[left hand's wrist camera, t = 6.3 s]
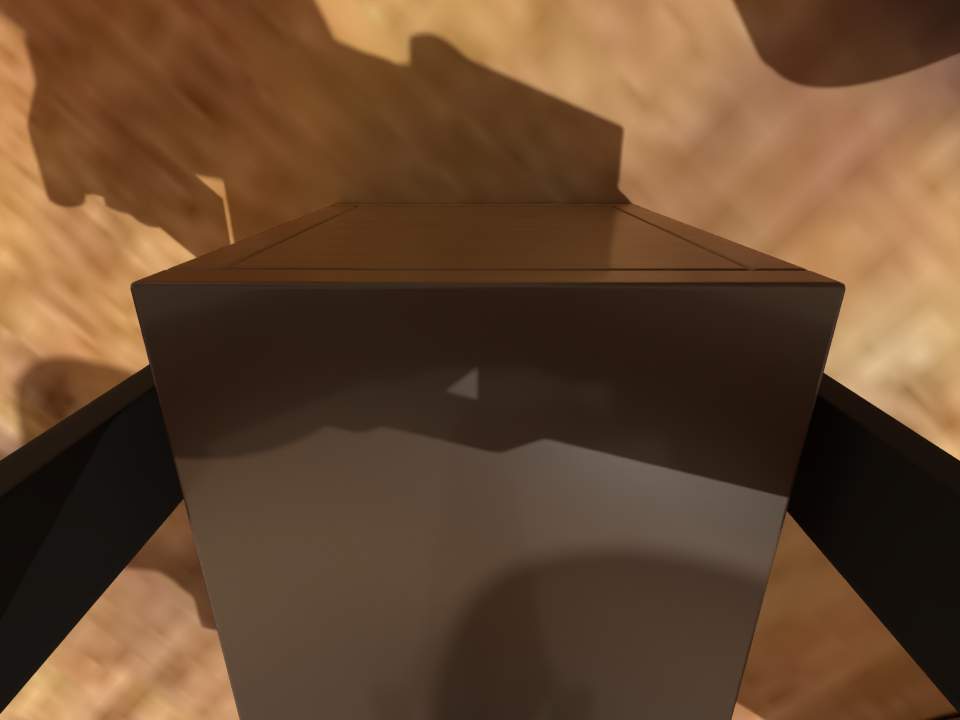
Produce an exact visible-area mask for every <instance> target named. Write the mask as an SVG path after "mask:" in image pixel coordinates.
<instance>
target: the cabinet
mask: <svg viewBox="0 0 960 720" xmlns="http://www.w3.org/2000/svg"><path fill="white" fill-rule="evenodd" d="M131 292H132V296H133V300H134V304H135V308H136V312H137V316H138V320H139V324H140V328H141V332H142V336H143V340H144V344H145V348H146V352H147V355H148V359H149V363H150V367H151V371H152V375H153V379H154V383H155V387H156V391H157V395H158V399H159V403H160V407H161V411H162V415H163V419H164V423H165V426H166V430H167V434H168V438H169V442H170V446H171V450H172V454H173V458H174V462H175V466H176V470H177V474H178V478H179V482H180V486H181V490H182V493H183V497H184V501H185V505H186V509H187V513H188V517H189V521H190V525H191V529H192V533H193V537H194V541H195V545H196V549H197V553H198V557H199V561H200V564H201V568H202V572H203V576H204V580H205V584H206V588H207V592H208V596H209V600H210V604H211V608H212V612H213V616H214V620H215V624H216V628H217V631H218V635H219V639H220V643H221V647H222V651H223V655H224V659H225V663H226V667H227V671H228V675H229V679H230V683H231V687H232V691H233V695H234V699H235V702H236V706H237V710H238V714H239V718H240V720H731V719H732V715H733V711H734V707H735V704H736V700H737V696H738V692H739V689H740V685H741V681H742V677H743V673H744V670H745V666H746V662H747V658H748V655H749V651H750V647H751V643H752V640H753V636H754V632H755V628H756V624H757V621H758V617H759V613H760V609H761V606H762V602H763V598H764V594H765V591H766V587H767V583H768V579H769V575H770V572H771V568H772V564H773V560H774V557H775V553H776V549H777V545H778V542H779V538H780V534H781V530H782V526H783V523H784V519H785V515H786V511H787V508H788V504H789V500H790V496H791V493H792V489H793V485H794V481H795V477H796V474H797V470H798V466H799V462H800V459H801V455H802V451H803V447H804V444H805V440H806V436H807V432H808V428H809V425H810V421H811V417H812V413H813V410H814V406H815V402H816V398H817V395H818V391H819V387H820V383H821V379H822V376H823V372H824V368H825V364H826V361H827V357H828V353H829V349H830V345H831V342H832V338H833V334H834V330H835V327H836V323H837V319H838V315H839V312H840V308H841V304H842V300H843V296H844V293H845V285H844V284H843V283H841V282H838V281H836V280H833V279H830V278H828V277H825V276H822V275H820V274H817V273H814V272H812V271H808V270H806V269H804V268H801V267H799V266H796V265H793V264H791V263H788V262H785V261H783V260H780V259H777V258H775V257H772V256H769V255H767V254H764V253H761V252H759V251H756V250H753V249H751V248H748V247H746V246H743V245H740V244H738V243H735V242H732V241H730V240H727V239H724V238H722V237H719V236H716V235H714V234H711V233H708V232H706V231H703V230H700V229H698V228H695V227H692V226H690V225H687V224H684V223H682V222H679V221H676V220H674V219H671V218H668V217H666V216H663V215H661V214H658V213H655V212H653V211H650V210H647V209H645V208H642V207H640V206H637V205H635V204H357V203H337V204H335V205H332V206H330V207H328V208H325V209H322V210H320V211H317V212H315V213H312V214H309V215H307V216H304V217H302V218H299V219H296V220H294V221H291V222H289V223H286V224H283V225H281V226H278V227H276V228H273V229H270V230H268V231H265V232H263V233H260V234H257V235H255V236H252V237H250V238H247V239H244V240H242V241H239V242H237V243H234V244H231V245H229V246H226V247H224V248H221V249H218V250H216V251H213V252H211V253H208V254H205V255H203V256H200V257H198V258H195V259H192V260H190V261H187V262H185V263H182V264H179V265H177V266H174V267H172V268H169V269H168V270H164V271H161V272H159V273H156V274H153V275H151V276H148V277H146V278H143V279H140V280H138V281H135V282H133V283H132V284H131Z"/></svg>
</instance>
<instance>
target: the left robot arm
mask: <svg viewBox="0 0 960 720" xmlns="http://www.w3.org/2000/svg"><path fill="white" fill-rule="evenodd" d="M183 499H184V497H183V493H182V490H181V486H180V482H179V478H178V474H177V470H176V466H175V462H174V458H173V454H172V450H171V446H170V442H169V438H168V434H167V430H166V426H165V423H164V419H163V415H162V411H161V407H160V403H159V399H158V395H157V391H156V387H155V383H154V379H153V375H152V371H151V367H150V364H149V365H148V366H146V367H145V368H143V369H142V370H140V371H138V372H137V373H135V374H134V375H132V376H131V377H129V378H128V379H126V380H125V381H123V382H121V383H120V384H118V385H117V386H115V387H114V388H112V389H111V390H109V391H108V392H106V393H104V394H103V395H101V396H100V397H98V398H97V399H95V400H94V401H92V402H91V403H89V404H87V405H86V406H84V407H83V408H81V409H80V410H78V411H77V412H75V413H73V414H72V415H70V416H69V417H67V418H66V419H64V420H63V421H61V422H60V423H58V424H56V425H55V426H53V427H52V428H50V429H49V430H47V431H46V432H44V433H43V434H41V435H39V436H38V437H36V438H35V439H33V440H32V441H30V442H29V443H27V444H26V445H24V446H22V447H21V448H19V449H18V450H16V451H15V452H13V453H12V454H10V455H8V456H7V457H5V458H4V459H2V460H1V461H0V714H1V712H2V711H3V710H4V709H5V708H6V707H7V705H8V704H9V703H10V702H11V701H12V700H13V698H14V697H15V696H16V695H17V694H18V692H19V691H20V690H21V689H22V688H23V687H24V685H25V684H26V683H27V682H28V681H29V680H30V678H31V677H32V676H33V675H34V674H35V673H36V671H37V670H38V669H39V668H40V667H41V665H42V664H43V663H44V662H45V661H46V660H47V658H48V657H49V656H50V655H51V654H52V653H53V651H54V650H55V649H56V648H57V647H58V646H59V644H60V643H61V642H62V641H63V640H64V638H65V637H66V636H67V635H68V634H69V633H70V631H71V630H72V629H73V628H74V627H75V626H76V624H77V623H78V622H79V621H80V620H81V619H82V617H83V616H84V615H85V614H86V613H87V611H88V610H89V609H90V608H91V607H92V606H93V604H94V603H95V602H96V601H97V600H98V599H99V597H100V596H101V595H102V594H103V593H104V592H105V590H106V589H107V588H108V587H109V586H110V584H111V583H112V582H113V581H114V580H115V579H116V577H117V576H118V575H119V574H120V573H121V572H122V570H123V569H124V568H125V567H126V566H127V565H128V563H129V562H130V561H131V560H132V559H133V557H134V556H135V555H136V554H137V553H138V552H139V550H140V549H141V548H142V547H143V546H144V545H145V543H146V542H147V541H148V540H149V539H150V538H151V536H152V535H153V534H154V533H155V532H156V531H157V529H158V528H159V527H160V526H161V525H162V523H163V522H164V521H165V520H166V519H167V518H168V516H169V515H170V514H171V513H172V512H173V511H174V509H175V508H176V507H177V506H178V505H179V504H180V502H181V501H182V500H183ZM787 512H788V513H789V514H790V515H791V516H792V518H793V519H794V520H795V521H796V522H797V523H798V525H799V526H800V527H801V528H802V529H803V531H804V532H805V533H806V534H807V535H808V536H809V538H810V539H811V540H812V541H813V542H814V543H815V545H816V546H817V547H818V548H819V549H820V550H821V552H822V553H823V554H824V555H825V556H826V557H827V559H828V560H829V561H830V562H831V563H832V565H833V566H834V567H835V568H836V569H837V570H838V572H839V573H840V574H841V575H842V576H843V577H844V579H845V580H846V581H847V582H848V583H849V584H850V586H851V587H852V588H853V589H854V590H855V592H856V593H857V594H858V595H859V596H860V597H861V599H862V600H863V601H864V602H865V603H866V604H867V606H868V607H869V608H870V609H871V610H872V611H873V613H874V614H875V615H876V616H877V617H878V619H879V620H880V621H881V622H882V623H883V624H884V626H885V627H886V628H887V629H888V630H889V631H890V633H891V634H892V635H893V636H894V637H895V638H896V640H897V641H898V642H899V643H900V644H901V646H902V647H903V648H904V649H905V650H906V651H907V653H908V654H909V655H910V656H911V657H912V658H913V660H914V661H915V662H916V663H917V664H918V665H919V667H920V668H921V669H922V670H923V671H924V673H925V674H926V675H927V676H928V677H929V678H930V680H931V681H932V682H933V683H934V684H935V685H936V687H937V688H938V689H939V690H940V691H941V692H942V694H943V695H944V696H945V697H946V698H947V700H948V701H949V702H950V703H951V704H952V705H953V707H954V708H955V709H956V710H957V711H958V712H959V714H960V461H959V460H958V459H956V458H955V457H953V456H952V455H950V454H948V453H947V452H945V451H944V450H942V449H941V448H939V447H938V446H936V445H934V444H933V443H931V442H930V441H928V440H927V439H925V438H924V437H922V436H921V435H919V434H917V433H916V432H914V431H913V430H911V429H910V428H908V427H907V426H905V425H904V424H902V423H900V422H899V421H897V420H896V419H894V418H893V417H891V416H890V415H888V414H887V413H885V412H883V411H882V410H880V409H879V408H877V407H876V406H874V405H873V404H871V403H869V402H868V401H866V400H865V399H863V398H862V397H860V396H859V395H857V394H856V393H854V392H852V391H851V390H849V389H848V388H846V387H845V386H843V385H842V384H840V383H839V382H837V381H835V380H834V379H832V378H831V377H829V376H828V375H826V374H825V373H823V376H822V379H821V383H820V387H819V391H818V395H817V398H816V402H815V406H814V410H813V413H812V417H811V421H810V425H809V428H808V432H807V436H806V440H805V444H804V447H803V451H802V455H801V459H800V462H799V466H798V470H797V474H796V477H795V481H794V485H793V489H792V493H791V496H790V500H789V504H788V508H787Z"/></svg>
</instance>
